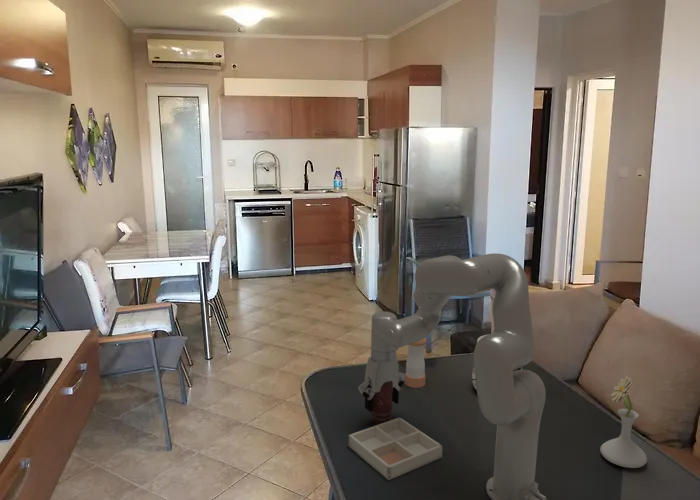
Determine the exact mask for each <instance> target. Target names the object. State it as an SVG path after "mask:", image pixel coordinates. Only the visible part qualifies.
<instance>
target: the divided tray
mask: <svg viewBox="0 0 700 500" xmlns="http://www.w3.org/2000/svg"><path fill="white" fill-rule="evenodd" d="M347 445H348V448H350V449H351V450H352V451H354V453H356V454H357V455H358V456H359V457H360V458H362V459H363V460H364V461H365V462H366V463H367V464H369V465H370V466H371V467H372V468H373V469H374V470H375V471H377V472H378V473H379V474H380V475H381V476H383V477H384V478H385V479H386V480H388V481H391V480H393V479H395V478H397V477H400V476H402V475H405V474H406V473H409V472H411V471H413V470H417V469H419V468H421V467H423V466H426V465H428V464H430V463H433V462H434V461H437V460H440V459H442V458H443V445H442V444H440V442H437V441H436V440H435V439H433V438H431V437H430V436H429V435H427V434H426V433H424V432H422V431H421V430H420V429H419V428H417V427H415V426H414V425H412V424H410V423H409V422H408V421H406V420H404V419H403V418H401V416H400V417H397V418H394V419H393V418H392V420H390V421H388V422H385V423H382V424H379V425H373V426H371V427H367V428H365V429H362V430H359V431H356V432H354V433H351V434H348V443H347Z"/></svg>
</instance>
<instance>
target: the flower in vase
mask: <svg viewBox="0 0 700 500" xmlns="http://www.w3.org/2000/svg"><path fill="white" fill-rule="evenodd" d="M632 381H633V379H632V377H630V378H629V376H624V378H621V379H619V382H618V383H617V385H616V386H614V387H613V390H614V391H612V393H611V395H610V398H611V401H612V402H614V403H619V402H621V401H622V400H623V399H624V400H623V405H624V407H625V408H620V409H618V410H617V414H618V415H619V416H620V419H621V431H620V435H619V436H618V437H615V438H612V439H609V440H607V441H605V442H604V443H602V444H601V445H600V449H599V451H600V453H601V456H602V457H604V459H606V460H607V461H608V462H610V463H612V464H614V465H617V466H620V467H623V468H626V469H627V468H628V469H629V468H630V469H638V468H642V467H643V466H645V464H647V463H648V457H647V455H646V453H645V452H644V451H643V449H642V448H640V446H638V445H637V444H636V443H635V442H634V441H633V439H632V438H631V432H632V427H633V424H634V422H635V421H636V420H637V419H638V418H639V417H640V415H639V413H638V412H637V411H635V410H633V409H634V405H633V403H632V401H631V399H630V396H629V393H630V390H631V389H632V385H633V382H632Z"/></svg>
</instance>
